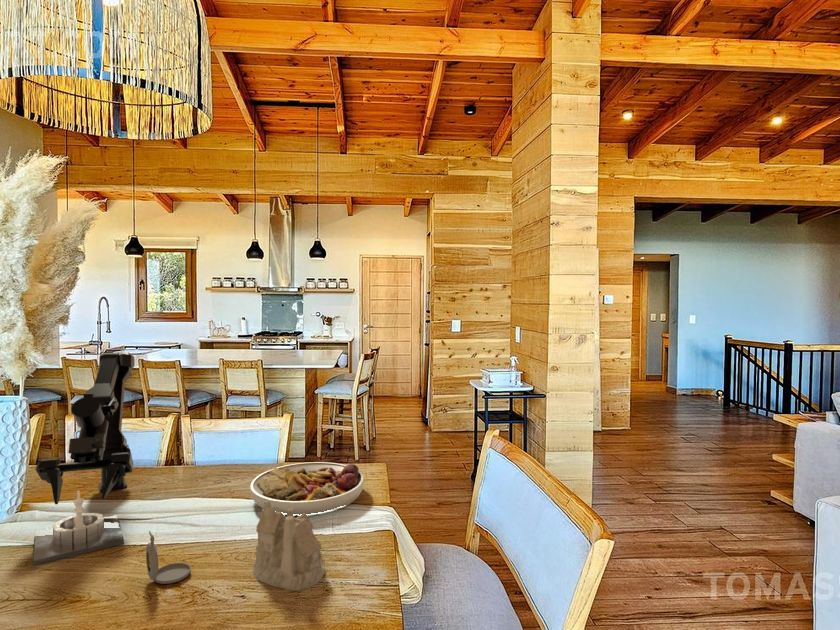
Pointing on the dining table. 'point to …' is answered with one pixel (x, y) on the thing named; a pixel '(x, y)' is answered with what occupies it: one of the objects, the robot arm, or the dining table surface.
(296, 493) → the bowl
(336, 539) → the dining table surface
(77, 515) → the chess piece
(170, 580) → the pocket watch
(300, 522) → the grey brown rock formation
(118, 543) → the lens mount
